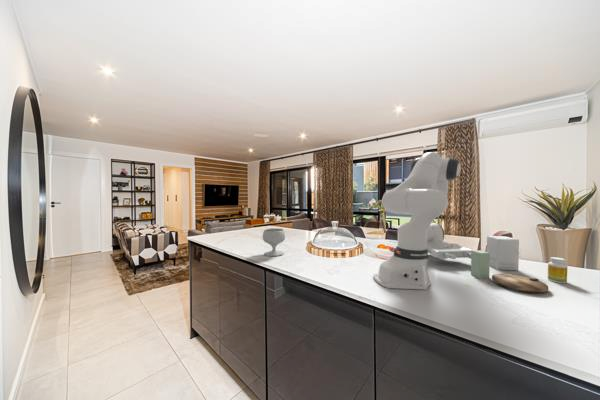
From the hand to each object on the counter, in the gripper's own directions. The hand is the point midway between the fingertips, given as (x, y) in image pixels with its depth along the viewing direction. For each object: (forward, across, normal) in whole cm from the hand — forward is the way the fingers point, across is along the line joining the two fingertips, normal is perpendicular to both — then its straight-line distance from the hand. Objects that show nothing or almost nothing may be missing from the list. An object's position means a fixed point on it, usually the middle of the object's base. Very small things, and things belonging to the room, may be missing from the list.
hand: (463, 257), depth 108 cm
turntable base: (+20, +6, +6) cm, 22 cm away
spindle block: (+9, 0, +6) cm, 11 cm away
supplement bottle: (+17, +27, +6) cm, 33 cm away
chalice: (-37, -93, +6) cm, 100 cm away
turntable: (+20, +6, +5) cm, 22 cm away
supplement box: (-1, +21, +6) cm, 22 cm away
